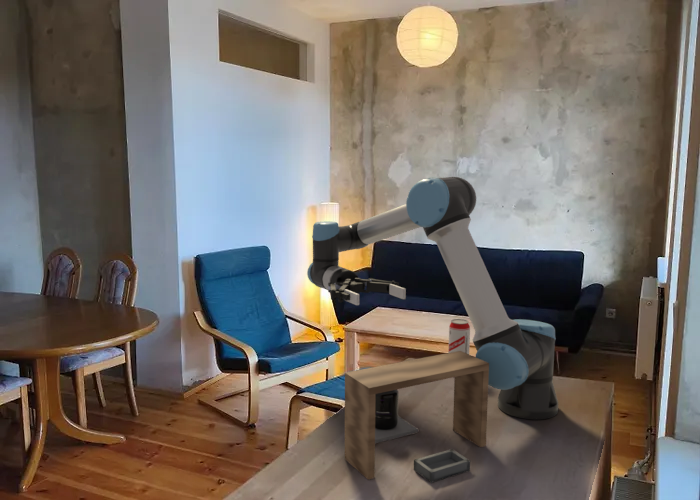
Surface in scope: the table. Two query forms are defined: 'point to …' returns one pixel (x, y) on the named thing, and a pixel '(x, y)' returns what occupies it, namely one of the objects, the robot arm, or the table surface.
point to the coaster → (395, 431)
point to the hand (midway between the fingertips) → (381, 296)
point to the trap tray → (441, 465)
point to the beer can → (459, 336)
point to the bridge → (405, 374)
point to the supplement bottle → (386, 410)
